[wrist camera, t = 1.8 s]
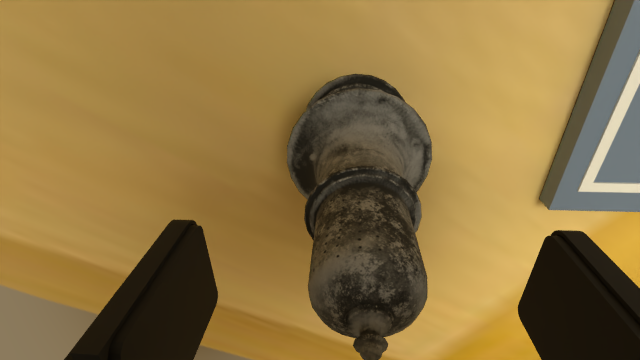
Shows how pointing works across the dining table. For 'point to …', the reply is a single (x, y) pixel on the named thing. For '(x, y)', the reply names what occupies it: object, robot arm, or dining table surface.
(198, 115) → the dining table surface
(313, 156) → the dark grey chess piece
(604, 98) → the board
